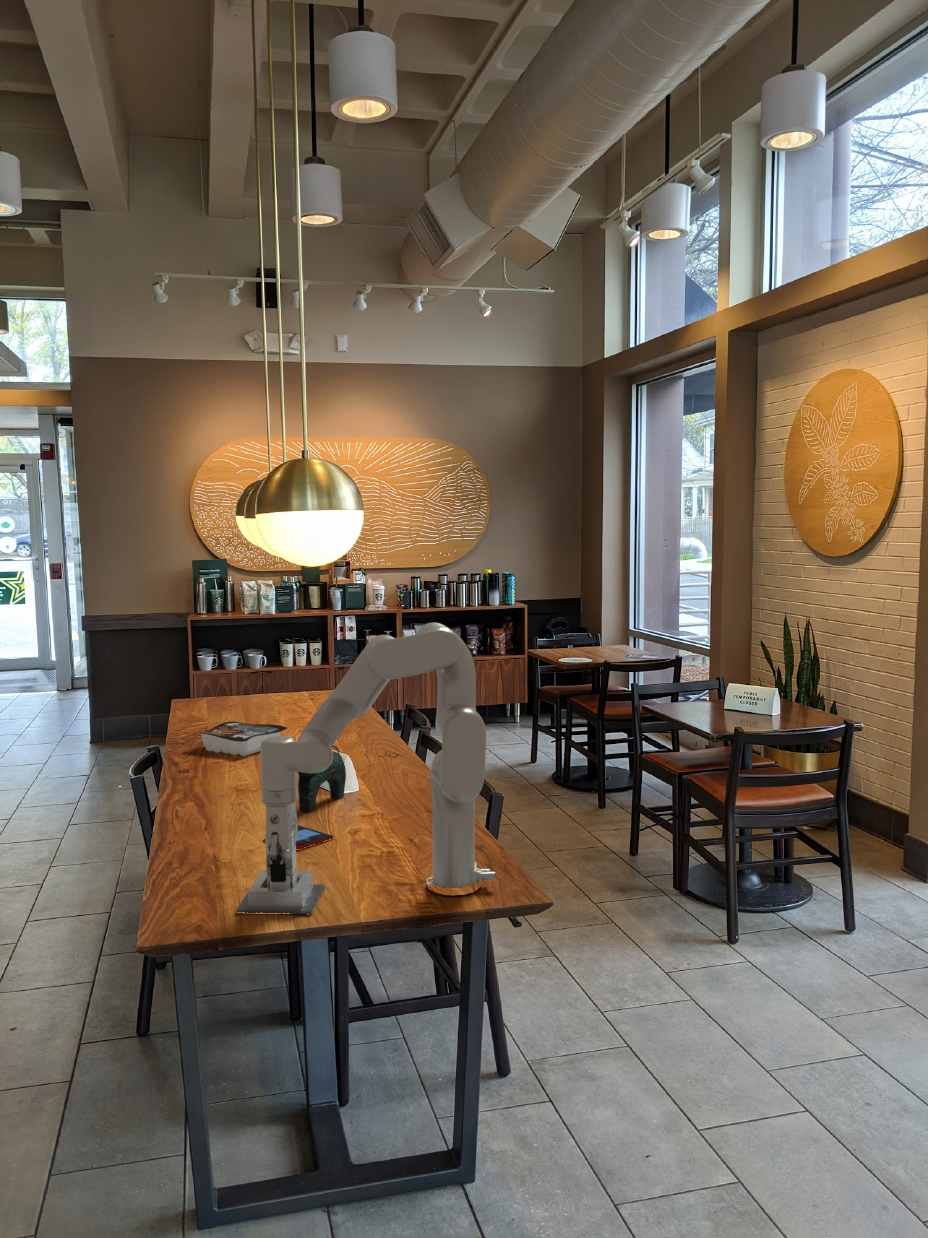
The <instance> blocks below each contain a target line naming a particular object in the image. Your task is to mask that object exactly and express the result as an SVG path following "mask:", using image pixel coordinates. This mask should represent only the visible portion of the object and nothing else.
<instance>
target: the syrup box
mask: <svg viewBox="0 0 928 1238" xmlns="http://www.w3.org/2000/svg"><path fill="white" fill-rule="evenodd" d="M293 833H294V831H293V832H292V834H291V849H290V850H289V851H286V850H285V852H284V863H286V881H285V882H271V876H270V851H269V850H268V849H267V846H266V845H265V856H266V858H265V862H266V863H265V864H266V865H265V867H266V871H267V888H295V887H296V885H297V876H296V871H297V850H296V842H295V843H294V842H293V836H294V835H293ZM269 847H271V844H270V846H269ZM277 849H282V847H281V846H278V848H277ZM277 853H278V854H277V855H280V858H281V852H277Z"/></svg>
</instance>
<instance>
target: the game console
mask: <svg viewBox="0 0 928 1238" xmlns="http://www.w3.org/2000/svg"><path fill="white" fill-rule="evenodd" d="M297 826H298V838H297V840H296V849H302V848H304V847H308V846H310V845H313V844H318V843H320V842H323V841H325V840H329V839H332V838H333V837H334V838H335V836H334V835H332V834H328V833H325V832H322V831H319V830H317V829H312V828H309V827H305V826H302V825H297ZM264 835H265V837H266V833H265V834H264ZM318 845H319V844H318Z"/></svg>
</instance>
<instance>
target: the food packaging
mask: <svg viewBox="0 0 928 1238" xmlns="http://www.w3.org/2000/svg"><path fill="white" fill-rule="evenodd" d="M287 729H288V727H286V726H284V725H281V724H269V723H267V724H265V723H264V724H263V723H262V724H259V723H257V724H253V723H244V722H238V721H235V720H234V721H226V722H223V723H220V724H218V725H216V726H214V727H212V728H211V729H207V730H205V731H201V732H200V734H201V735H200V736H201V739H202V743H203V745H204V747H205V749H206V751H207V752H214V753H216V754H217V753H218V754H219V753H223V754H226V755H227V754H228V755H232V756H237V755H239V756H241V757H247V756H250V754H251V755H253V754H256V753H259V752H260V746H261V743H262V741H263V740H265V739H267V738H269V737H275V736H281V732H283V731H285V730H287Z"/></svg>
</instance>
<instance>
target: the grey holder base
mask: <svg viewBox="0 0 928 1238" xmlns="http://www.w3.org/2000/svg"><path fill="white" fill-rule="evenodd" d="M296 876H297V885H296V887H295V888H267V870H261V871H260V873H259V874H258V875H257V877H256V878H255V880H254V882H252V883H253V884H252V885H251V886H250V887H249V889H248V890H247V893H246V895H244V898H243V899H242V900H241V901H240V903H239V905H238V906H237V908H236V909H235V913H236V912H245V913H247V912H248V913H256V912H257V913H261V912H262V913H281V914H282V913H290V914H312V912H313V910H314V908H315V909H316V907H315V905H316V904H317V905H318V903H319V901H320V899H319V897H320V896H321V897H322V895H323V893H322V891H323V889H324V890H325V884H317V883H316V884H314V871H307V870H306V871H305V870H304V871H303V870H300V871H299V870H296ZM323 892H324V891H323ZM321 894H322V895H321ZM321 897H320V898H321ZM318 900H319V901H318ZM317 902H318V903H317ZM317 905H316V906H317ZM314 911H315V910H314ZM313 913H314V912H313ZM312 915H313V914H312Z"/></svg>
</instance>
